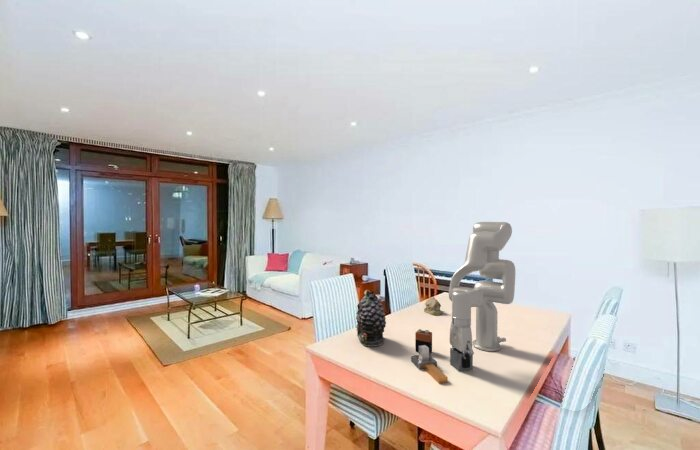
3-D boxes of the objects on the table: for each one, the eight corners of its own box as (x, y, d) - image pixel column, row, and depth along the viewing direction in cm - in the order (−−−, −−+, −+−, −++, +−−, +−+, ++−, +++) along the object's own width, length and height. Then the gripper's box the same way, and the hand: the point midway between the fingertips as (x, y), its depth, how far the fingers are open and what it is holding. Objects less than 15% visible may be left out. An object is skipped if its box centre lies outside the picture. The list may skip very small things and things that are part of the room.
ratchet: (452, 381, 121) (452, 362, 121) (433, 384, 120) (433, 364, 119) (427, 359, 141) (427, 342, 141) (411, 361, 139) (411, 344, 139)
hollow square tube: (463, 362, 137) (463, 346, 137) (472, 369, 131) (472, 352, 131) (450, 364, 136) (450, 348, 136) (458, 371, 130) (458, 354, 129)
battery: (429, 354, 146) (429, 333, 145) (415, 351, 149) (415, 330, 149) (432, 351, 149) (432, 330, 149) (418, 348, 153) (418, 327, 153)
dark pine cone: (351, 334, 171) (350, 288, 171) (377, 332, 175) (377, 286, 174) (362, 350, 151) (361, 297, 151) (392, 346, 155) (391, 295, 154)
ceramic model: (420, 310, 216) (420, 295, 216) (435, 308, 220) (435, 294, 220) (431, 316, 203) (431, 300, 203) (447, 314, 206) (447, 299, 206)
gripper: (442, 315, 141) (442, 356, 141) (465, 328, 124) (465, 374, 124) (457, 314, 142) (457, 354, 143) (482, 327, 126) (482, 372, 126)
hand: (461, 363), depth 133 cm, fingers closed on hollow square tube, 6 cm apart
